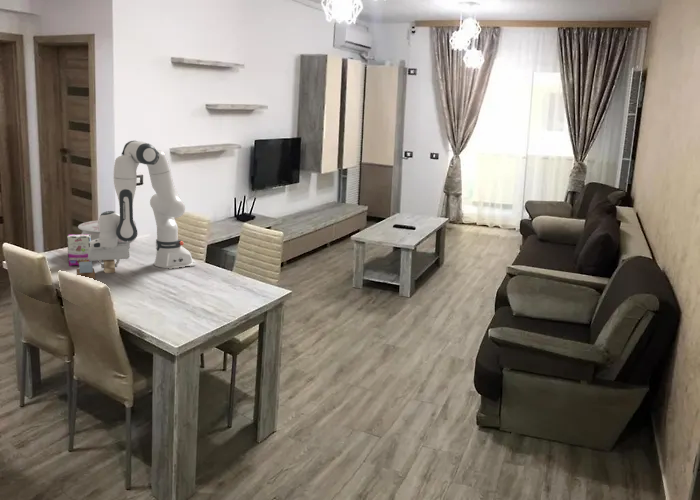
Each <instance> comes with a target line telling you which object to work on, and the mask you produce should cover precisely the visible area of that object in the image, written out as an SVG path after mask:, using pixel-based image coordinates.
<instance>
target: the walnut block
mask: <svg viewBox="0 0 700 500" xmlns="http://www.w3.org/2000/svg"><path fill="white" fill-rule="evenodd" d="M77 275H81V276H85V277H89V278H93V279H94V280H96V271H95V267H93V272H91V273H80V270H79V268H76V276H77Z"/></svg>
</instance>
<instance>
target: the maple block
mask: <svg viewBox="0 0 700 500" xmlns="http://www.w3.org/2000/svg"><path fill="white" fill-rule="evenodd" d="M102 261H103V264H104V268H103V272H104V274H110V273H111V274H112V273H116V267H115V263H116V262H115V260H102Z"/></svg>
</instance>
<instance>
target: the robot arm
mask: <svg viewBox="0 0 700 500" xmlns="http://www.w3.org/2000/svg"><path fill="white" fill-rule="evenodd" d="M139 164H143V165H146V166H147V169H148V174H149V177H150V183H151V187H152V189H153V190H154V191H155V194H152V196H150V201H149V205H150V207H151V210H152V211H153V215H154V220H155V225H156V239H155V249H156V254H155V259H154V263H153V264H154V266H155V267H158V268H164V269H168V268H169V269H168V270H173V269H172V268H174V269H180V268H179V267H182V268H186V267H185V266H190V267H195V266H197V262H196V259H193V257H192V253H191V252H190V251H189V250H188V249H186V248H185V247H184V245H185V244H184V241H182V240H180V239H179V236H178V235H179V234H178V232H179V231H178V230H179V226H178V223H177V221H176V219H175V218H178V219H179V218H180V217H183V215H184V214H185V211H186V204H184V202H183V201H182V199H181V198H180V196H179V195H180V194H179V193H178V191H177V188H176V186H175V183H174V179H173V175H172V171H171V167H170V163H169V161H168V157H167V155H166V154H165V152H164V151H162V150H158V149H156V148H155V146H153V145H152V144H150V143H147V142H144V141H142V140H141V141H140V140H129V141H127V143H125V144H124V146H123V149H122V152H121V155H120V156H117V157H116V158H115V160H114V165H113V184H114V189H115V192H116V196H117V199H118V203H119V204H118V205H119V213H117V212H116V211H115V210H108V211H107V210H106V211H104V212H102V213H101V214H100V215H99V217H98V220H99V230H100V235H99V238H98V239H95V240H92V241H90V245H91V246H90V247H89V250H88V259H89V260H90V261H92V262H94V261H98V262H99V265H100V268H101V269H104V263H103V262H102V261H103V260H114V261H115V260H116V262H115V268H118V265H119V263H120V261H121V260H128V259H129V258H130V257H131V256H130V248H131V247H130V246H131V245H130V244H131V243H130V244H129V243H128V241H132V240H133V239H135V237H136V236H137V237H138V235H137V233H138V229H137V223H136V222H135V220H134V212H133V210H134V209H133V207H134V205H133V204H134V198H135V195H136V189H137V183H138V182H137V181H138V180H137V179H138V177H137V169H138V167H139ZM137 237H136V238H137ZM118 238H119V239H120V240H122V241H124V242H118ZM135 240H136V239H135Z"/></svg>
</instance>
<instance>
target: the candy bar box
mask: <svg viewBox="0 0 700 500" xmlns="http://www.w3.org/2000/svg"><path fill="white" fill-rule="evenodd" d="M90 241H91V235H81V234H68V235H67V237H66V244H67V261H68V267H79V262H90V260H89V259H88V250H89V247H90V246H91V245H90Z"/></svg>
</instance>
